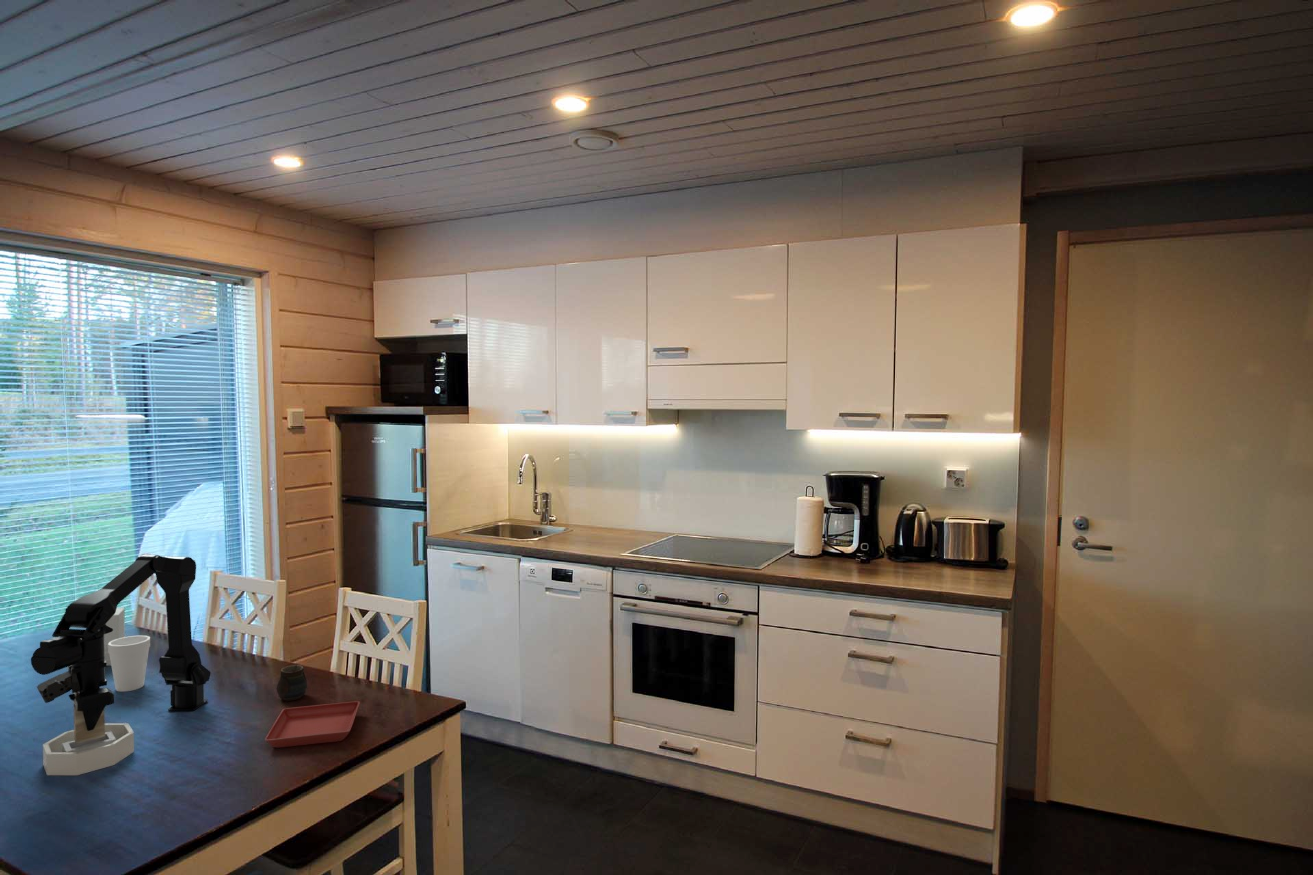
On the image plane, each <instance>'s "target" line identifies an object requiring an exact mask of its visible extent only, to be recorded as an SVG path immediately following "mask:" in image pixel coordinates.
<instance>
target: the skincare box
mask: <svg viewBox="0 0 1313 875" xmlns="http://www.w3.org/2000/svg"><path fill="white" fill-rule="evenodd" d="M125 614H126V612H125V607H123V606H122V607H117V609H116V613H115V614H114V615H113V616H112V617H111V619H110V620H109V621H108V622H107V623H106V625H107V626H108V627H110V628H112V629H113V631H112V632H110V633H107V634H104V651H105V661H106V662H107V666H111V661H110V655H109V653H108V643H109V642H111V641H113V640H115V639H119V638H123V637H126V636H125V635H126V632H125V627H126V626H125V624H126V623H125V620H126V619H125Z"/></svg>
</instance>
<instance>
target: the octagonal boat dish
mask: <svg viewBox="0 0 1313 875" xmlns="http://www.w3.org/2000/svg"><path fill="white" fill-rule="evenodd" d="M134 734H135V732H134V730H133V729H132V727H131V726H130V724H129V723H126V722H124V723H123V722H122V723H117V722H115V723H110V722H106V723H105V736H104V737H100V738H96V739H92V740H88V741H85V742H81V743H77V744H76V742H75V740H74V729H72V730H68V731H65V732H63V733H61V734H59V735H57V736H56V737H54V738H52V739H50V740H49V741H47V742H45V743H43V744H42V760H43V761H42V763H43V764H42V765H43V768H44V770H45V774H46V776H79V775H83V774H86V773H89V772H94V771H97V770H100V769H102V770H103V769H104V768H108V767H112V766H114V765H116V764H118V763H119V762H121V761H122V760H124V759H125V758H126V757H128V756H130V755H132V754H133V753H135V735H134Z"/></svg>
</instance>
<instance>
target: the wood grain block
mask: <svg viewBox="0 0 1313 875" xmlns="http://www.w3.org/2000/svg"><path fill="white" fill-rule="evenodd" d="M73 703H75V699H74V701H73ZM105 718H106V716H105V709H104V710H103V712H102V714H101V716H100V718H99V720H98V722H97V724H96V726H95V728H94V730H91V731H87V727H86V724H85V720H84V716H83V712H82V711H77V709H76V708H75V707H74V706H73V730H74V740H75V742H76V744H77V743H81V742H85V741H88V740H92V739H96V738H100V737H104V736H105V720H106V719H105Z"/></svg>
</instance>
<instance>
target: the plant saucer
mask: <svg viewBox="0 0 1313 875" xmlns="http://www.w3.org/2000/svg"><path fill="white" fill-rule="evenodd" d="M360 703H361V702H360V701H358V700H357V701H356V700H354V701H345V702H336V703H328V704H327V703H326V704H316V705H306V706H295V707H287V708H283V709H281V712H280V713H279V715H278V716H277V718H276V720H275V721H274V723H273V725H272V726H271V728H270V730H269V732H268V733H267V735H266V737H264V741H265V742H266V743H268V744H269V745H270V746H272V747H274V748H278V749H279V748H285V747H286V748H287V747H295V746H297V747H298V746H304V745H305V746H306V745H313V744H314V745H315V744H322V743H323V744H325V743H333V742H334V743H335V742H336V743H337V742H341V741H344V739H346V737H347V736H348V735H349V734H350V732H351V729H352V726H353V724H354V722H355V718H356V715H357V712H358V710H359V707H360Z"/></svg>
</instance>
